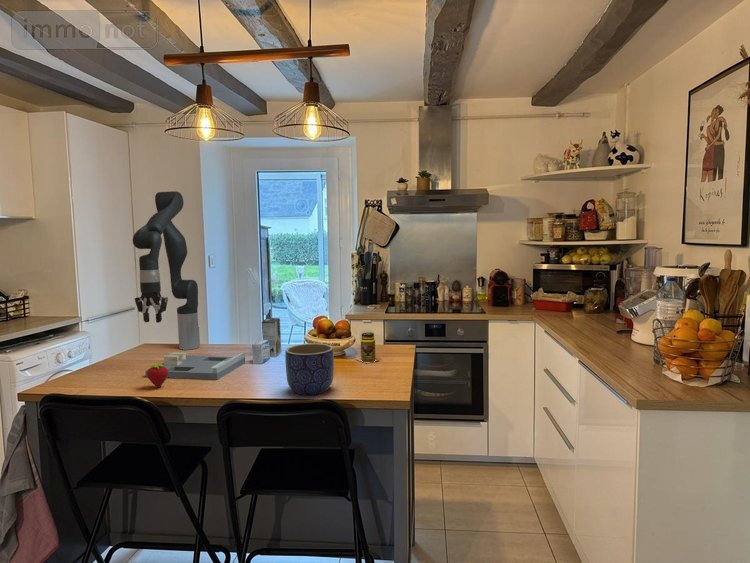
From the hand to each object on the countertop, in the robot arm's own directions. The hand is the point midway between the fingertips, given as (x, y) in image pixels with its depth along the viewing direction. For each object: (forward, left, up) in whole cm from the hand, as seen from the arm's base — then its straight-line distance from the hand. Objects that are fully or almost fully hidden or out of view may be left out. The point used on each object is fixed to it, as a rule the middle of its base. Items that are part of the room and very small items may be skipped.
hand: (152, 322), depth 199 cm
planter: (+19, +73, -20) cm, 78 cm away
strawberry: (+23, +17, -20) cm, 35 cm away
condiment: (-22, +85, -20) cm, 90 cm away
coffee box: (-27, +40, -20) cm, 52 cm away
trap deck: (0, +19, -19) cm, 27 cm away
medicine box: (-15, +40, -20) cm, 47 cm away
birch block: (0, +9, -17) cm, 19 cm away
